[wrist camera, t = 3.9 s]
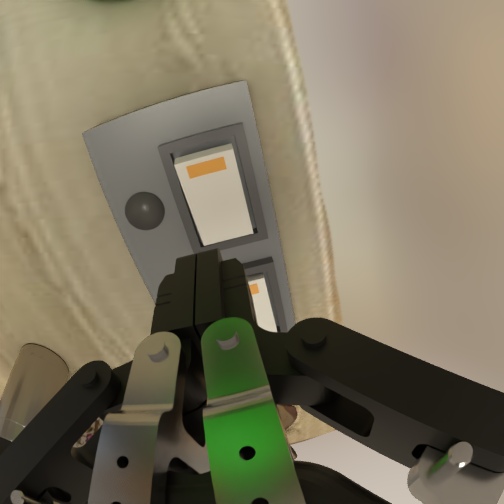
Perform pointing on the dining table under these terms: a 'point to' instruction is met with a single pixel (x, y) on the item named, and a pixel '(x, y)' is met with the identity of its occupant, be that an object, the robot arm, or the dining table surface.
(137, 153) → the rocker switch panel
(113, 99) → the dining table surface
